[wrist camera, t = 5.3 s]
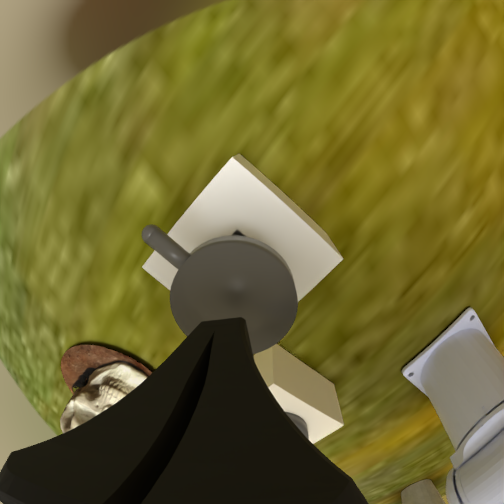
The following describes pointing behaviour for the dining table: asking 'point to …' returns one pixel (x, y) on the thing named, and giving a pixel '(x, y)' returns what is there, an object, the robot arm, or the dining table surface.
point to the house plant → (421, 493)
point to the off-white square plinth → (300, 391)
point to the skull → (97, 381)
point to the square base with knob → (252, 225)
